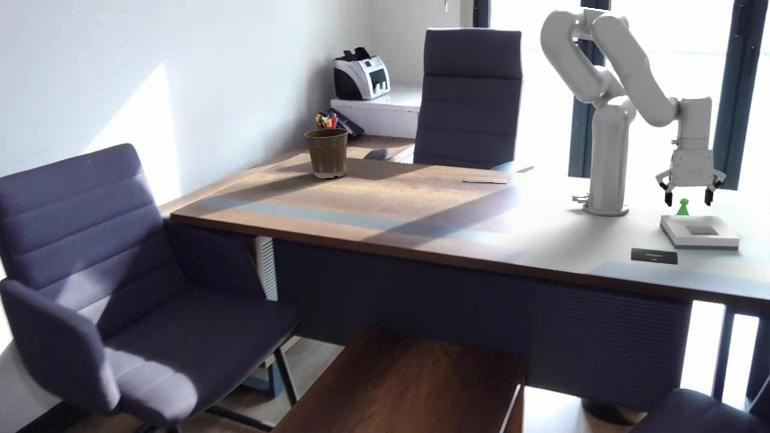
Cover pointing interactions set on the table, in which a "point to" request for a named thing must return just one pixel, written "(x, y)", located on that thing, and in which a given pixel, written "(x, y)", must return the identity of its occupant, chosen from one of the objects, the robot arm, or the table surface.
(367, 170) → the table surface
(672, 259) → the solid state drive
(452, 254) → the table surface
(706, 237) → the white square slotted base
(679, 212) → the game piece
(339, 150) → the plant pot
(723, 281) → the table surface
